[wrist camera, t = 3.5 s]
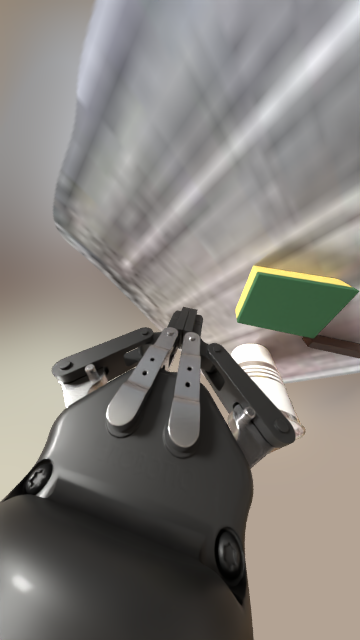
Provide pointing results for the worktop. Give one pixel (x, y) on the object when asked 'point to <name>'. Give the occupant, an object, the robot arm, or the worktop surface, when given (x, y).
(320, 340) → the sponge rack
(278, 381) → the white canister
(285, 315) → the sponge
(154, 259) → the worktop surface
